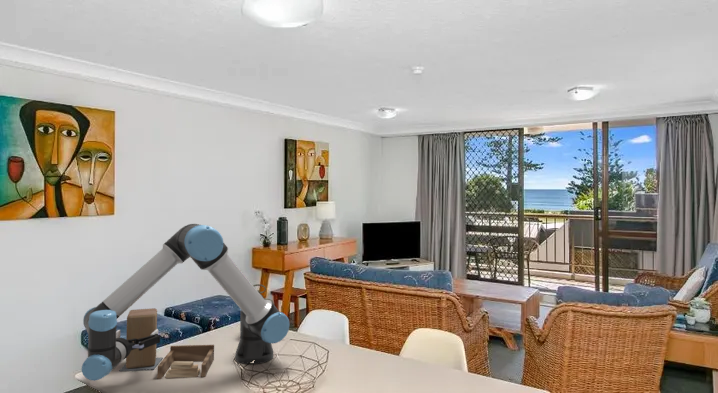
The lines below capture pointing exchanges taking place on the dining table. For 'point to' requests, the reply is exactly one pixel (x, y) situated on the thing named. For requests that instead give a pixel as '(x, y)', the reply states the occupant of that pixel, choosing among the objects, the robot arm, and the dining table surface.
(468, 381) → the dining table surface
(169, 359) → the brown wooden tray
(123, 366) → the felt pad
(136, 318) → the wooden block
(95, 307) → the robot arm
